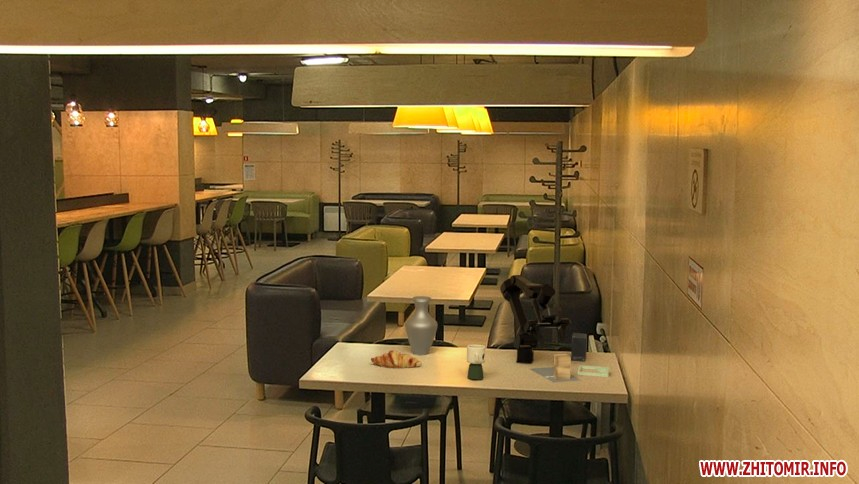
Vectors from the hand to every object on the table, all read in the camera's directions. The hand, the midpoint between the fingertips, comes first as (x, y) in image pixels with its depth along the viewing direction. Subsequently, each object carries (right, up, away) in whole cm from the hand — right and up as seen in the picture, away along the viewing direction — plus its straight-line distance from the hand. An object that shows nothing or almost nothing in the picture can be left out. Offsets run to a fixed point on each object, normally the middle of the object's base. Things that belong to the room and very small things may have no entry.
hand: (553, 343), depth 334 cm
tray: (+17, -14, +4) cm, 22 cm away
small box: (+16, -11, +34) cm, 39 cm away
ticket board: (0, -14, -1) cm, 14 cm away
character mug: (-31, -14, -5) cm, 34 cm away
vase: (-53, -9, +37) cm, 66 cm away
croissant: (-63, -11, +13) cm, 65 cm away
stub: (+2, -13, -7) cm, 14 cm away
